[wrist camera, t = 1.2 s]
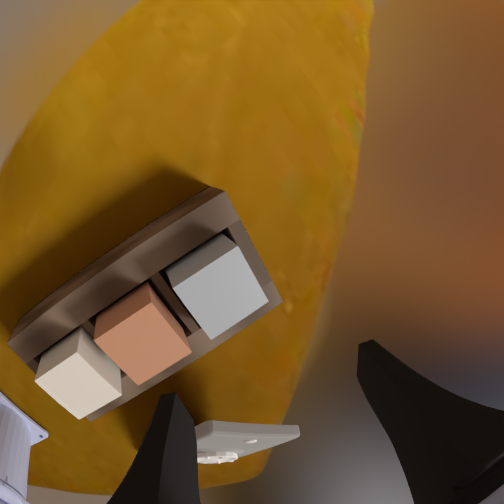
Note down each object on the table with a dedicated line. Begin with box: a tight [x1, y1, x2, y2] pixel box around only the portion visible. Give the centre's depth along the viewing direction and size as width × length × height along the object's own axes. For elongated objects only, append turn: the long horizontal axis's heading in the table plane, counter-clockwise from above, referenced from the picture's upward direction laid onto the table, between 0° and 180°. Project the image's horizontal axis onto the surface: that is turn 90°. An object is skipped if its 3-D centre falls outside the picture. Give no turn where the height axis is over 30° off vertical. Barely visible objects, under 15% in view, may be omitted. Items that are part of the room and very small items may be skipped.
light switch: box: [195, 420, 300, 464], centre depth 25 cm, size 8×6×14 cm
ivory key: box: [35, 326, 122, 419], centre depth 16 cm, size 4×4×3 cm
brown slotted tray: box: [7, 186, 283, 421], centre depth 20 cm, size 18×9×4 cm, turn 117°
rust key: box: [94, 282, 192, 385], centre depth 17 cm, size 4×4×3 cm
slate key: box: [166, 233, 269, 340], centre depth 18 cm, size 4×4×3 cm
